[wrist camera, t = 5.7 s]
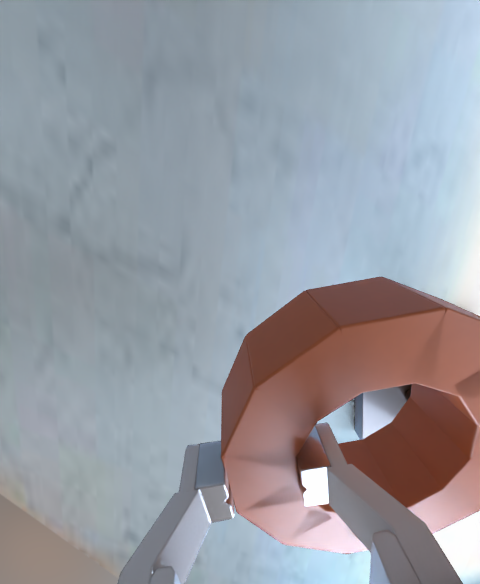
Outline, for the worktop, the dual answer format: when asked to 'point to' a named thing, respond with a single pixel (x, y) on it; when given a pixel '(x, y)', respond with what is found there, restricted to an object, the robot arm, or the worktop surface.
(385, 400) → the peg stand
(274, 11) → the worktop surface
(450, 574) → the robot arm
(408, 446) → the ring
